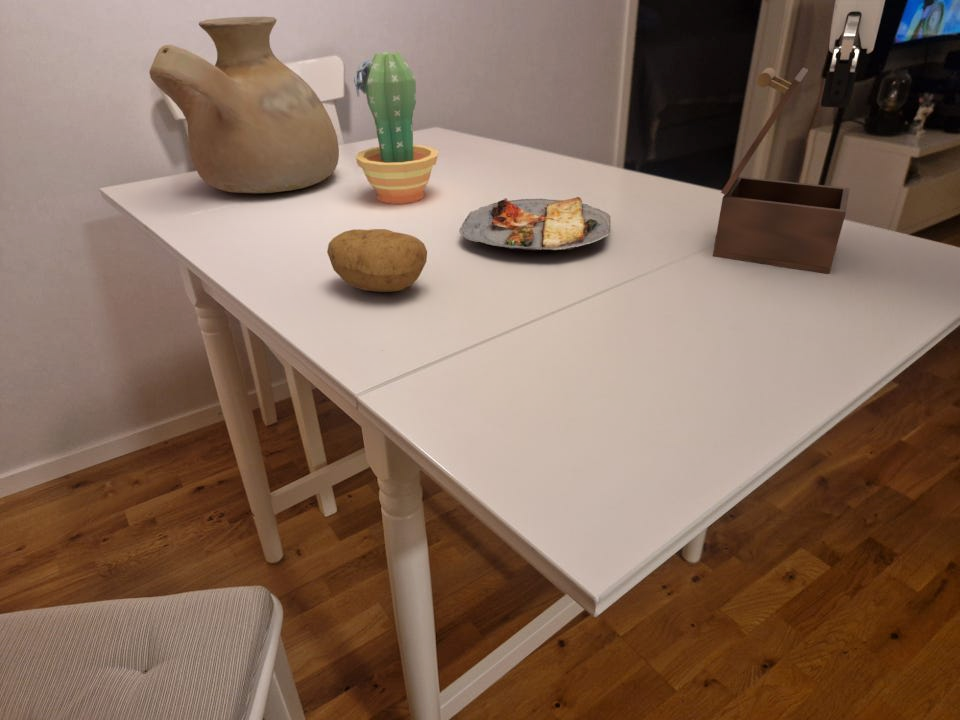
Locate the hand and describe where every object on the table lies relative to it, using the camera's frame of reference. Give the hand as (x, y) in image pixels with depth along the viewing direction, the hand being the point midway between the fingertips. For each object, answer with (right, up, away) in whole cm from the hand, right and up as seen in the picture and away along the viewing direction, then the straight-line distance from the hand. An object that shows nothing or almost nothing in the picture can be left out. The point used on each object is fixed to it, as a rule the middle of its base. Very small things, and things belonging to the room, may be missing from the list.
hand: (836, 100), depth 85 cm
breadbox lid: (-7, -2, +6) cm, 9 cm away
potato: (-60, -24, +4) cm, 65 cm away
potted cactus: (-62, -3, +40) cm, 73 cm away
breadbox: (-3, -18, +12) cm, 22 cm away
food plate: (-37, -14, +21) cm, 45 cm away
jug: (-91, +2, +49) cm, 103 cm away
